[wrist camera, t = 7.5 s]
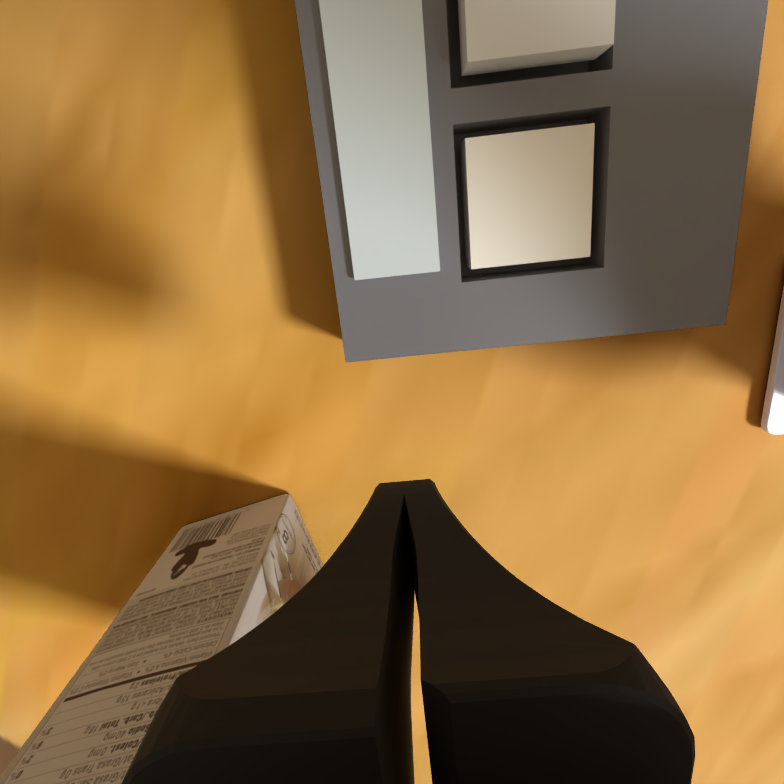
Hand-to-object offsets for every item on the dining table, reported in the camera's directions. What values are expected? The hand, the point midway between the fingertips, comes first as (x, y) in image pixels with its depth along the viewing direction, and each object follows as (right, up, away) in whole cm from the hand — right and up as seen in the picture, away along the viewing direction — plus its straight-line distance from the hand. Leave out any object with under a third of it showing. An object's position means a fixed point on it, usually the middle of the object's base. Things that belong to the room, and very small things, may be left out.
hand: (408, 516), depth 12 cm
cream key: (+4, +10, +6) cm, 12 cm away
